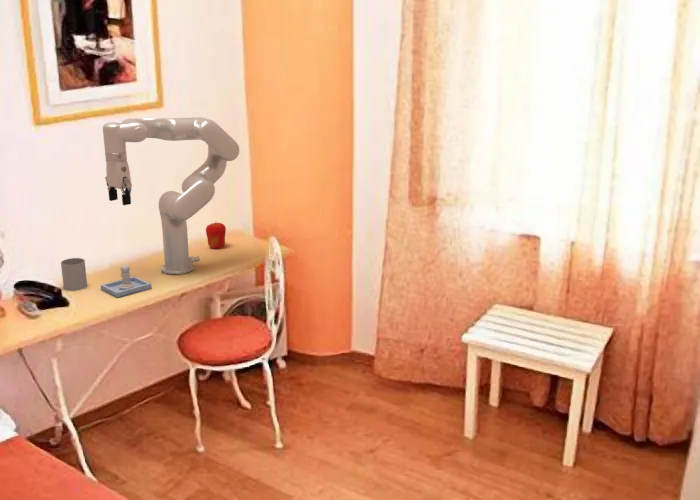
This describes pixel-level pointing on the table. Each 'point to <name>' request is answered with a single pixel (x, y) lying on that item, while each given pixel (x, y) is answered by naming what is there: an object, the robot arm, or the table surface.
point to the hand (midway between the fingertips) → (120, 202)
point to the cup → (74, 274)
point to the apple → (216, 235)
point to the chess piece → (125, 278)
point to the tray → (115, 291)
